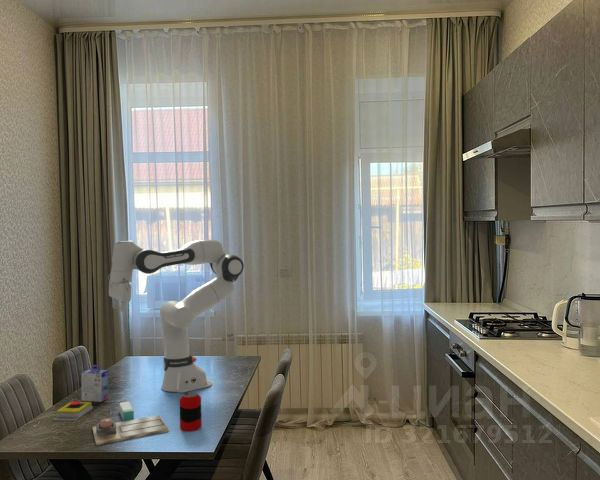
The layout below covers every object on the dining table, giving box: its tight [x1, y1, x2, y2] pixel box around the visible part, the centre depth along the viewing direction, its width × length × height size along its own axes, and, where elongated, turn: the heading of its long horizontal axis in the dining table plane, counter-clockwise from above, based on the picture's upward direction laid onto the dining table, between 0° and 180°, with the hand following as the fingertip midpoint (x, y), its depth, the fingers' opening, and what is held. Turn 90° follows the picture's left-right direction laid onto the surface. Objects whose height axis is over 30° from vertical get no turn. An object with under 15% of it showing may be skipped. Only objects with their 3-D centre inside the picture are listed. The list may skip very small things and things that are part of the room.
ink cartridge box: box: [81, 364, 109, 403], centre depth 218 cm, size 10×6×14 cm, turn 78°
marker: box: [119, 401, 135, 422], centre depth 198 cm, size 4×12×4 cm, turn 27°
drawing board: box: [91, 415, 170, 446], centre depth 183 cm, size 24×16×3 cm, turn 117°
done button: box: [99, 418, 113, 429], centre depth 179 cm, size 4×4×3 cm
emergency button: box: [53, 400, 94, 422], centre depth 201 cm, size 9×4×15 cm
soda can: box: [179, 391, 202, 432], centre depth 185 cm, size 8×8×12 cm
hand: (118, 309), depth 220 cm, fingers open, 8 cm apart
